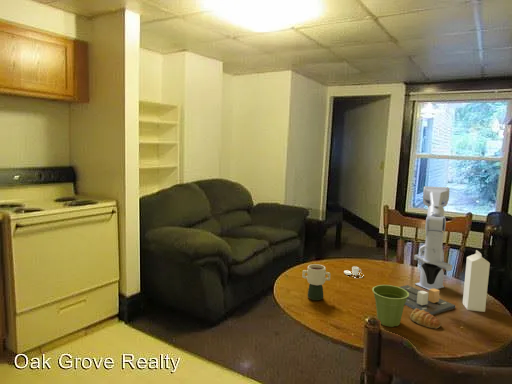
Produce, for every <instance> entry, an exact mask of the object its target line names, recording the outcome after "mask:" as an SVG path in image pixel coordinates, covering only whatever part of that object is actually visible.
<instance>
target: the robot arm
mask: <svg viewBox="0 0 512 384" xmlns="http://www.w3.org/2000/svg"><path fill="white" fill-rule="evenodd" d="M422 194H423V195H422V199H423V200H422V204H423V205H424V206H426V207H427V215H426V217H425V218H426V219H425V224H424V225H425V241H424V242H425V243H424V244H423V245H421V246H420V247H419V249H418V253H417V254H414V255H413V260H415V261H417V264H418V265H420V275H419V282H415V283H414V284H415V285H416V286H418V287H420V288H423V289H425V290H428V291H429V289H433V288H435V289H437V290H440V289H442V288H445V285H444V275H445V273H444V272H445V271H447V272H449V271H453V264H450V263H447V262H445V261H444V260H445V259H444V258H445V255H444V249H443V243H444V242H443V241H444V233H445V231H446V226H447V225H446V224H447V220H446V215H445V208H444V207H447V205H448V202H449V201H450V200H449V199H450V188H449V186H447V187H446V186H445V187H444V186H427V185H425V186H423V193H422ZM444 270H445V271H444Z"/></svg>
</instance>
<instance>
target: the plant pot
mask: <svg viewBox="0 0 512 384" xmlns="http://www.w3.org/2000/svg"><path fill="white" fill-rule="evenodd" d="M400 287H401V286H396V285H391V284H379V285H376V286H373V287H372V293H373V296H374V299H375V308H376V317H377V320H378V319H379V320H380V321H381V323H380V324H381V326H385V327H390V328H393V327H398V326H400V324H401V321H402V320H401V319H402V317H403V312H404V308H405V306H406V305H405V302H406V299H407V297H408V296H409V293H408V292H407V291H406V290H404V289H402V288H400Z"/></svg>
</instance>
